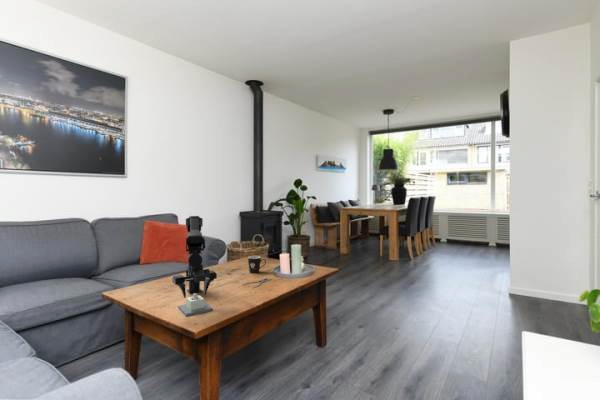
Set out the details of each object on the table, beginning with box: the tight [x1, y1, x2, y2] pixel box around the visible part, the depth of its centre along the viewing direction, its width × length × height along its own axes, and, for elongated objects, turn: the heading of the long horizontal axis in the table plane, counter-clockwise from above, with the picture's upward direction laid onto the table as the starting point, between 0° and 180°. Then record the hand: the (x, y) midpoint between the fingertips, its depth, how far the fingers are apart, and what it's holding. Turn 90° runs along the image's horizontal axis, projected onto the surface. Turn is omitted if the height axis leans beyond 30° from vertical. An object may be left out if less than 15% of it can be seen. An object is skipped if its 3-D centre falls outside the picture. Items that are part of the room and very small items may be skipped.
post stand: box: [177, 292, 214, 317], centre depth 145 cm, size 12×12×7 cm
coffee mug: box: [247, 255, 267, 274], centre depth 211 cm, size 12×9×10 cm
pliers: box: [241, 277, 272, 289], centre depth 188 cm, size 10×1×20 cm
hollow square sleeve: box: [186, 295, 205, 310], centre depth 145 cm, size 6×6×4 cm
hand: (195, 295), depth 145 cm, fingers open, 9 cm apart
